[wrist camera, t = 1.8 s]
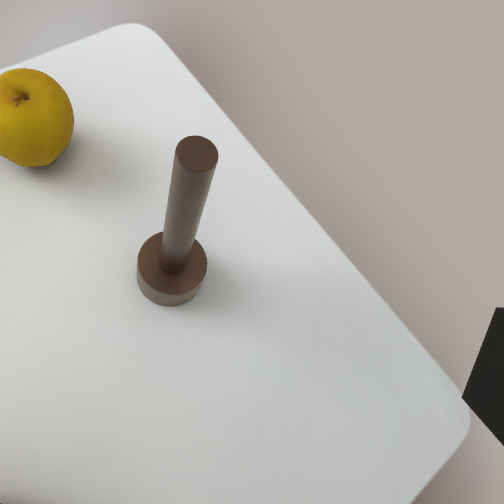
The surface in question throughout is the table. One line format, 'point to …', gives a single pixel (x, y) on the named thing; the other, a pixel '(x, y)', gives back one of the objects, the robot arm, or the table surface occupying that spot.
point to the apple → (33, 118)
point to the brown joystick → (180, 228)
